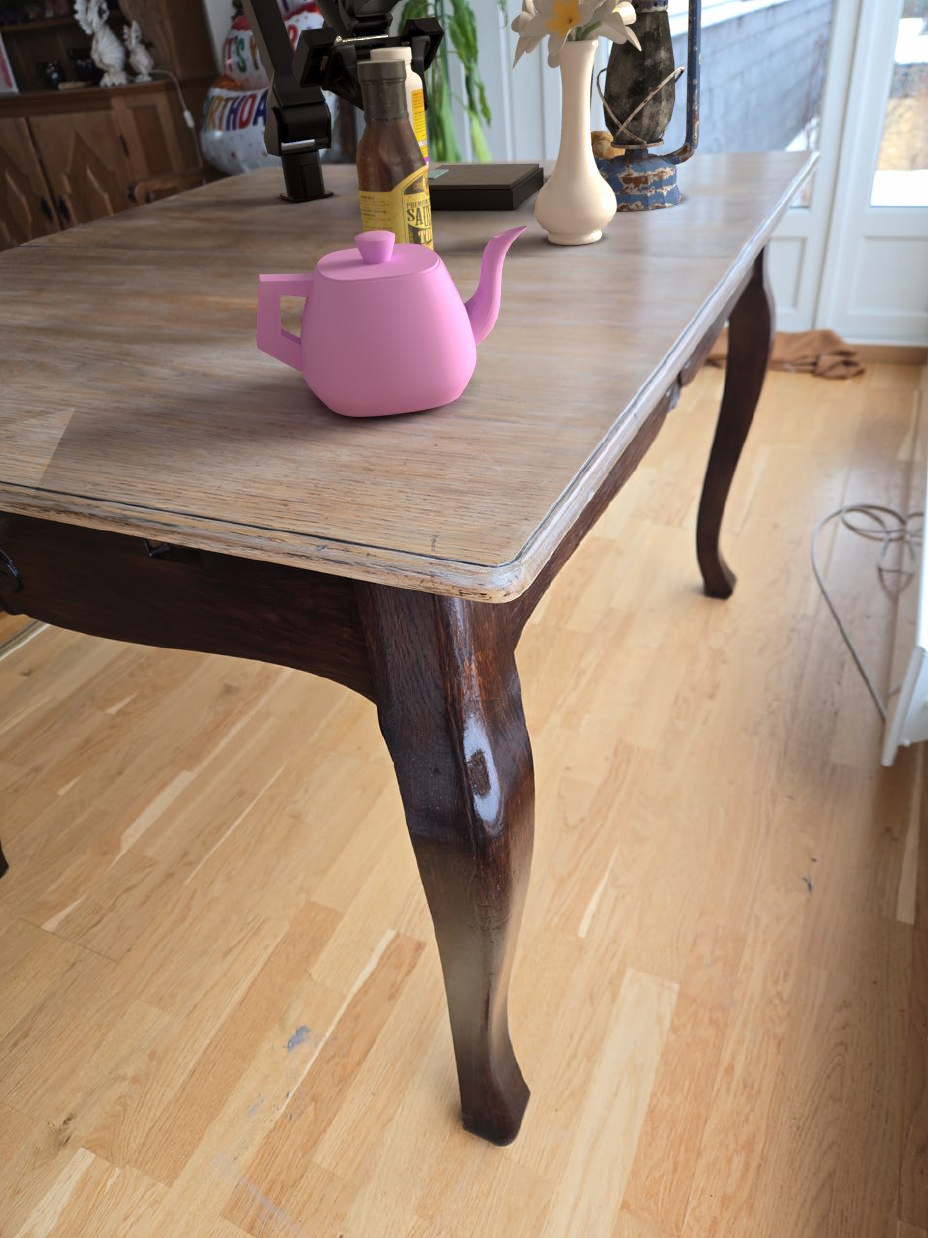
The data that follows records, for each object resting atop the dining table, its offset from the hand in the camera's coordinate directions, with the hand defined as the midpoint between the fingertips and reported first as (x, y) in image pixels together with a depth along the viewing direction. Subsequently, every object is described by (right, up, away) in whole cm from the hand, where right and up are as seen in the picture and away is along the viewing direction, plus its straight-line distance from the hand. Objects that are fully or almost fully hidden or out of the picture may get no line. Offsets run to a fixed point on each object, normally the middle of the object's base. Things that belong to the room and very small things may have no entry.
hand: (402, 111), depth 101 cm
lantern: (+30, -5, +12) cm, 32 cm away
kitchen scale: (+9, 0, +21) cm, 23 cm away
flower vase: (+19, -16, -2) cm, 25 cm away
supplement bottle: (0, -5, +5) cm, 7 cm away
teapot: (+2, -42, -36) cm, 55 cm away
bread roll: (+27, +5, +26) cm, 38 cm away
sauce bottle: (+2, -30, -19) cm, 36 cm away
